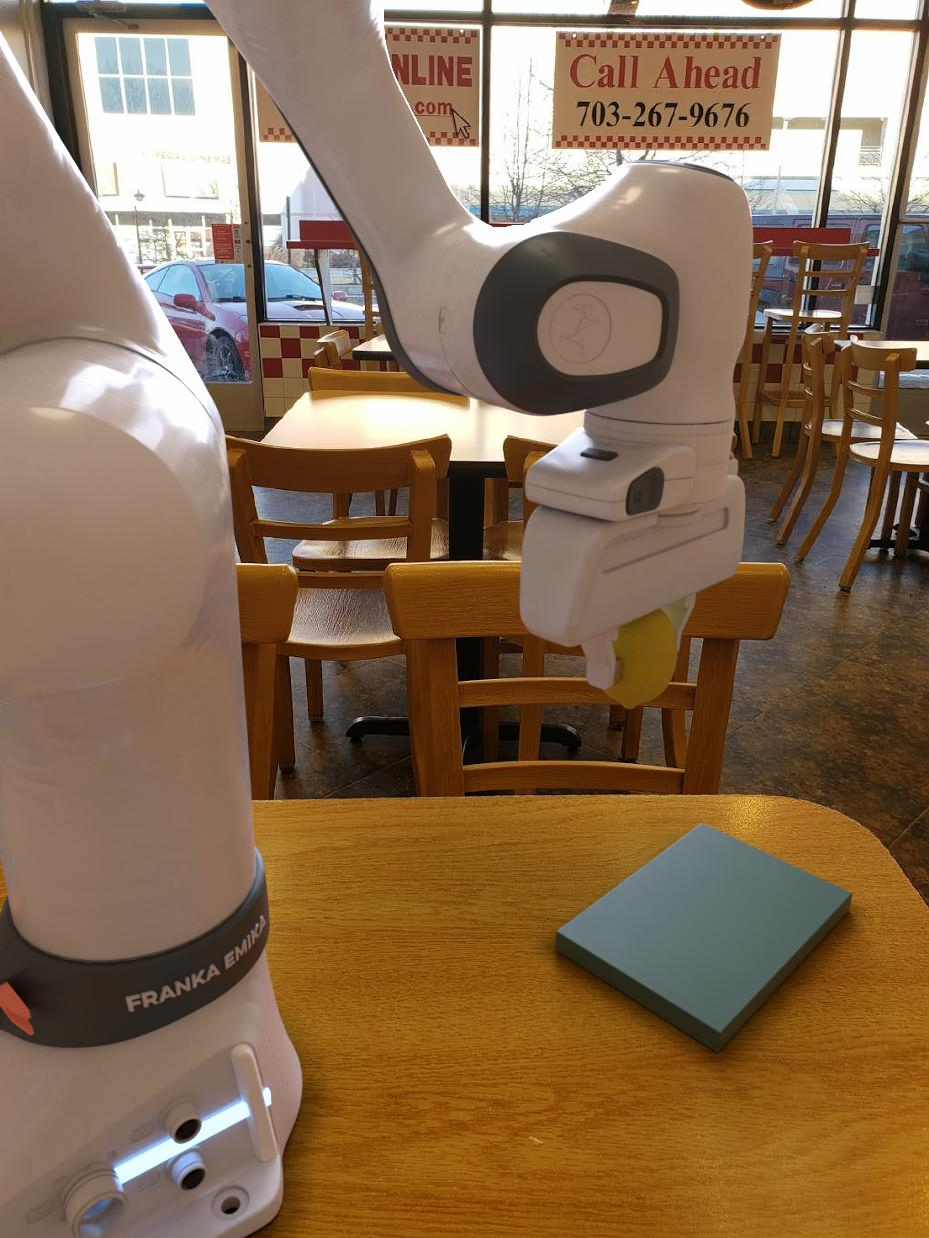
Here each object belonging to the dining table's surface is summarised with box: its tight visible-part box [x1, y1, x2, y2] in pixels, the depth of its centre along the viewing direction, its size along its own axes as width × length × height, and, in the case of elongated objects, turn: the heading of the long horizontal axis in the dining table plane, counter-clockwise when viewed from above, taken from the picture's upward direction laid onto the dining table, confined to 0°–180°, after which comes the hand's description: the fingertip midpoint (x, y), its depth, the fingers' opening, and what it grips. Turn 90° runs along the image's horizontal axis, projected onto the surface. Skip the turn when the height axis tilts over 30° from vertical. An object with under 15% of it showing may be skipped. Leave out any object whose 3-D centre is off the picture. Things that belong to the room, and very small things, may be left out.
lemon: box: [602, 608, 678, 710], centre depth 62 cm, size 6×6×8 cm
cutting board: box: [554, 822, 853, 1053], centre depth 63 cm, size 18×12×2 cm, turn 136°
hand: (633, 669), depth 62 cm, fingers closed on lemon, 5 cm apart
